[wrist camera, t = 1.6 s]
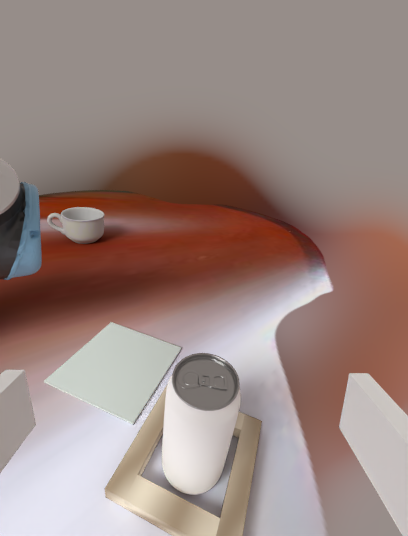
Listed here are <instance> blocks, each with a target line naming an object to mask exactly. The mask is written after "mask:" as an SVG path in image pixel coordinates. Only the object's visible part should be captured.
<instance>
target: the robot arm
mask: <svg viewBox="0 0 408 536" xmlns="http://www.w3.org/2000/svg"><path fill="white" fill-rule="evenodd" d="M40 267H41V237H40V211H39V194H38V189H37V187H36V186H34V185H31V184H27V183H26V182H24V183H23V182H21V183H20V182H19V179H18V177H17V174H16V172H15V171H14V170H13V168H12V167H11V166H10V165H9V164H8V163H7V162H5V161H4V160H2V159H1V158H0V279H4V280H9V279H11V278H13V277H19V276H26V275H31V274H34V273H36V272H37V271H38V270H39V269H40ZM35 425H36V423H35V418H34V413H33V408H32V403H31V398H30V393H29V388H28V383H27V378H26V374H25V370H5V371H4V372H3V373H1V374H0V473H1V471H2V470H3V469H4V467H5V466H6V465H7V463H8V462H9V460H10V459H11V458H12V456H13V455H14V454H15V452H16V451H17V450H18V448H19V447H20V446H21V444H22V443H23V441H24V440H25V439H26V437H27V436H28V435H29V433H30V432H31V431H32V429H33V428H34V426H35ZM339 428H340V430H341V432H342V433H343V435H344V437H345V439H346V440H347V442H348V444H349V445H350V447H351V449H352V450H353V452H354V454H355V456H356V457H357V459H358V461H359V462H360V464H361V466H362V468H363V469H364V471H365V473H366V474H367V476H368V478H369V480H370V481H371V483H372V485H373V486H374V488H375V490H376V492H377V493H378V495H379V497H380V498H381V500H382V502H383V504H384V505H385V507H386V509H387V510H388V512H389V513H390V516H391V517H392V519H393V521H394V522H395V524H396V526H397V527H398V529H399V531H400V533H401V534H402V536H408V416H407V415H406V414H405V413H404V411H403V410H402V409H401V408H400V407H399V406H398V405H397V404H396V403H395V402H394V401H393V400H392V399H391V397H390V396H389V395H388V394H387V393H386V392H385V391H384V390H383V389H382V388H381V387H380V386H379V385H378V383H377V382H376V381H375V380H374V379H373V378H372V377H371V376H370V375H369V374H368V373H349V378H348V383H347V388H346V394H345V399H344V405H343V409H342V414H341V420H340V425H339Z"/></svg>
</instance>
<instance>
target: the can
mask: <svg viewBox="0 0 408 536" xmlns="http://www.w3.org/2000/svg"><path fill="white" fill-rule="evenodd" d="M240 403H241V393H240V388H239V378H238V375H237V373H236V371H235V369H234V368H233V367H232V365H231V364H230V363H228V362H227V361H226V360H224V359H223V358H221V357H219V356H216V355H213V354H208V353H197V354H192V355H189V356H187V357H185V358H184V359H182V360H181V361H180V362H179V363H178V364H177V365H176V367H175V369H174V371H173V374H172V376H171V377H170V379H169V382H168V385H167V389H166V398H165V411H164V426H163V442H162V467H163V471H164V474H165V476H166V478H167V480H168V481H169V483H170V484H171V485H172V486H173V487H174V488H175V489H177V490H178V491H180V492H182V493H185V494H190V495H197V494H201V493H204V492H206V491H208V490H210V489H211V488H212V487H213V486H214V485H215V484H216V483H217V482H218V480H219V478H220V476H221V474H222V471H223V468H224V465H225V461H226V457H227V454H228V450H229V446H230V443H231V439H232V435H233V432H234V428H235V424H236V420H237V416H238V413H239V408H240Z"/></svg>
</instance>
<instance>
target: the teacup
mask: <svg viewBox="0 0 408 536" xmlns="http://www.w3.org/2000/svg"><path fill="white" fill-rule="evenodd" d="M53 217H57V218H58V219H59V220H60V221H61V223H62V224H63V228H61V227H58V226H56V225H55V224H53V223H52V218H53ZM48 224H49V225H50V226H51V227H52V228H54V229H56V230H58V231H60V232H61V233H62V234H65V235H66V236H67V237H68V238H69V239H71V240H72V241H74V242H76V243H81V244H88V243H93V242H95V241H97V240H98V239H99V238H101V237H102V235H103V233H104V213H103V212H102V211H100V210H97V209H94V208H86V207H76V208H69V209H66V210H64V211H62V212H61V215H60V214H57V213H52V214H50V215H49V216H48Z"/></svg>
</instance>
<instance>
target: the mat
mask: <svg viewBox="0 0 408 536" xmlns="http://www.w3.org/2000/svg"><path fill="white" fill-rule="evenodd" d="M180 350H181V347H178V346H176V345H173V344H170V343H167V342H165V341H162V340H159V339H156V338H154V337H151V336H148V335H145V334H142V333H140V332H137V331H134V330H131V329H129V328H126V327H123V326H120V325H118V324H115V323H112V322H111V323H110V324H109V325H107V326H106V327H105V328H104V329H103V330H102V331H101V332H99V333H98V334H97V335H96V336H95V337H94V338H93V339H91V340H90V341H89V342H88V343H87V344H86V345H85V346H83V347H82V348H81V349H80V350H79V351H78V352H77V353H75V354H74V355H73V356H72V357H71V358H70V359H69V360H67V361H66V362H65V363H64V364H63V365H62V366H61V367H59V368H58V369H57V370H56V371H55V372H54V373H53V374H51V375H50V376H49V377H48V378H47V379H46V380H45V381H44V383H46V384H48V385H50V386H52V387H54V388H57V389H59V390H61V391H63V392H65V393H67V394H69V395H71V396H74V397H76V398H78V399H80V400H82V401H84V402H86V403H88V404H90V405H93V406H95V407H97V408H99V409H101V410H103V411H105V412H107V413H109V414H112V415H114V416H116V417H118V418H120V419H122V420H124V421H126V422H129V423H131V424H134V423H135V421H136V419H137V418H138V416H139V415H140V413H141V412H142V410H143V408H144V407H145V405H146V404H147V402H148V401H149V399H150V397H151V396H152V394H153V393H154V391H155V390H156V388H157V386H158V385H159V383H160V382H161V380H162V379H163V377H164V375H165V374H166V372H167V371H168V369H169V368H170V366H171V364H172V363H173V361H174V360H175V358H176V357H177V355H178V353H179V352H180Z"/></svg>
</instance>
